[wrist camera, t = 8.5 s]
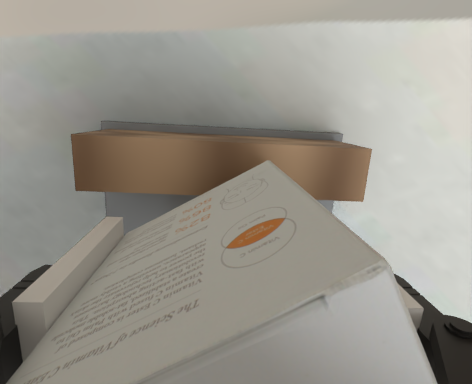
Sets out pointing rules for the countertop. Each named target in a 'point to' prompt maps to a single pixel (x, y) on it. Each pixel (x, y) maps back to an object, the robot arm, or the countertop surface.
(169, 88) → the countertop surface
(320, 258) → the small box
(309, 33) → the countertop surface
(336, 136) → the mat
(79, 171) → the rail
